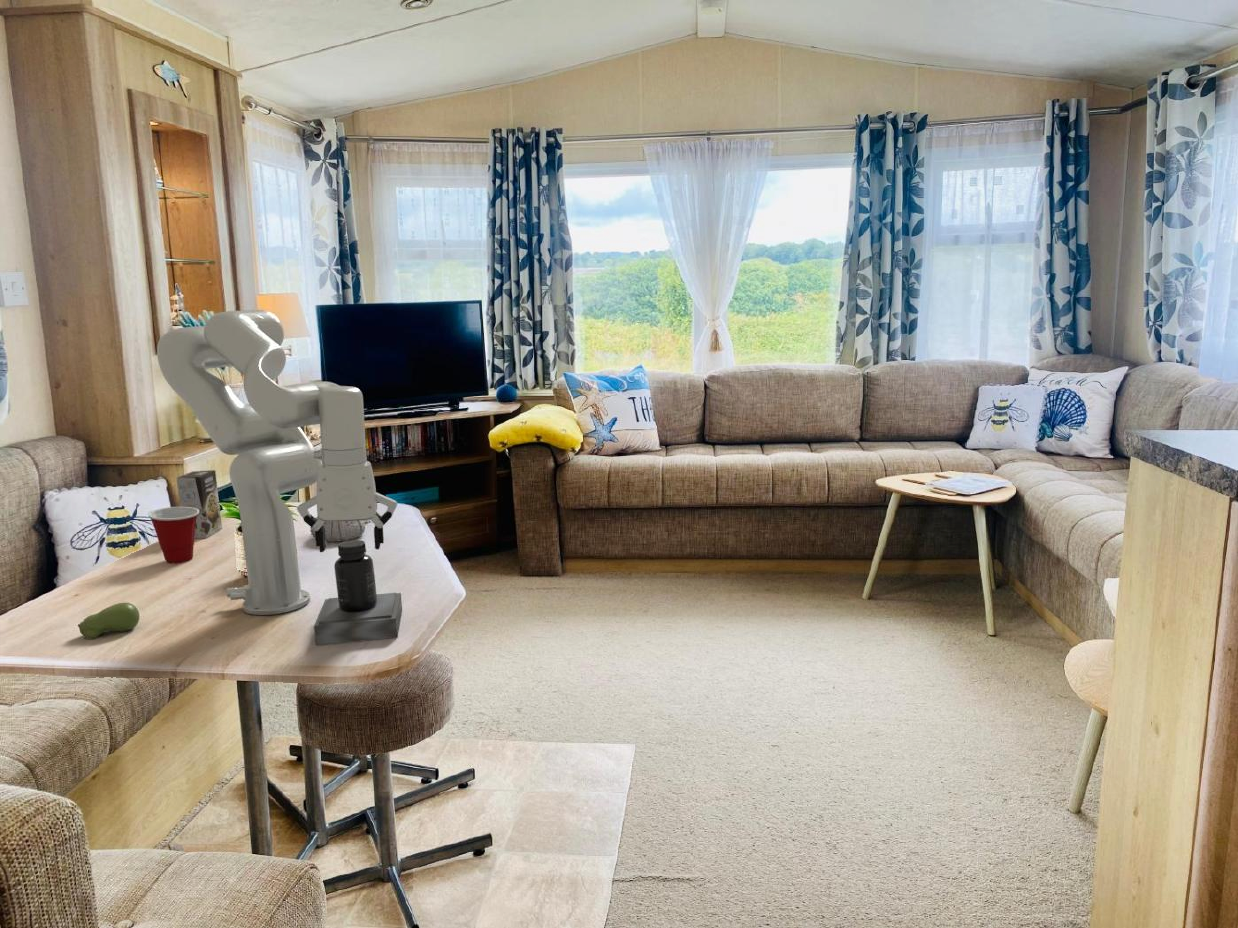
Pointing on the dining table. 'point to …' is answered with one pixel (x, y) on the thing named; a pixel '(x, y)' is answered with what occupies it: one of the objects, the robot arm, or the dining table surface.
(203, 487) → the coffee box
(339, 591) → the supplement bottle
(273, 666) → the dining table surface
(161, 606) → the dining table surface
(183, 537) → the plastic cup
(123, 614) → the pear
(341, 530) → the sea urchin shell
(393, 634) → the grey square block
